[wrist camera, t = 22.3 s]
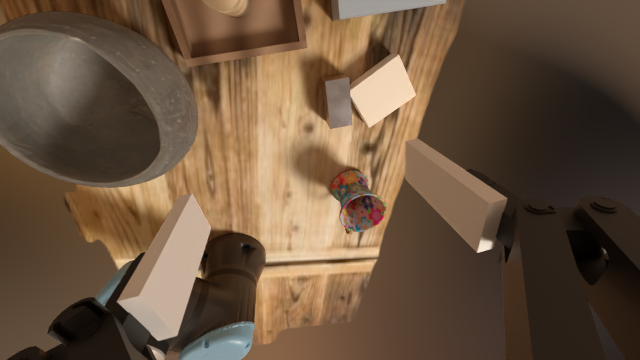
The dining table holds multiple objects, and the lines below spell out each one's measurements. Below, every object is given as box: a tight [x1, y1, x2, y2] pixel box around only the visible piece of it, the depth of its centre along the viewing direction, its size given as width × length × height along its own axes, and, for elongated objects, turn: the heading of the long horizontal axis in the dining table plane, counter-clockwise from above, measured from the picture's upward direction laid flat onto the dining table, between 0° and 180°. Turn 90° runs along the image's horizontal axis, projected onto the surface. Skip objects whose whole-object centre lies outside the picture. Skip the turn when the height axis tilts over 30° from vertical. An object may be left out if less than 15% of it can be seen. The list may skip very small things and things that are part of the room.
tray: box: [162, 0, 307, 67], centre depth 34 cm, size 18×14×4 cm
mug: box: [332, 170, 386, 234], centre depth 52 cm, size 12×9×11 cm
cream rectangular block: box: [350, 54, 416, 128], centre depth 44 cm, size 10×8×4 cm
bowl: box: [0, 11, 198, 188], centre depth 33 cm, size 21×21×15 cm
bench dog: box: [321, 74, 352, 129], centre depth 43 cm, size 4×8×4 cm, turn 8°
